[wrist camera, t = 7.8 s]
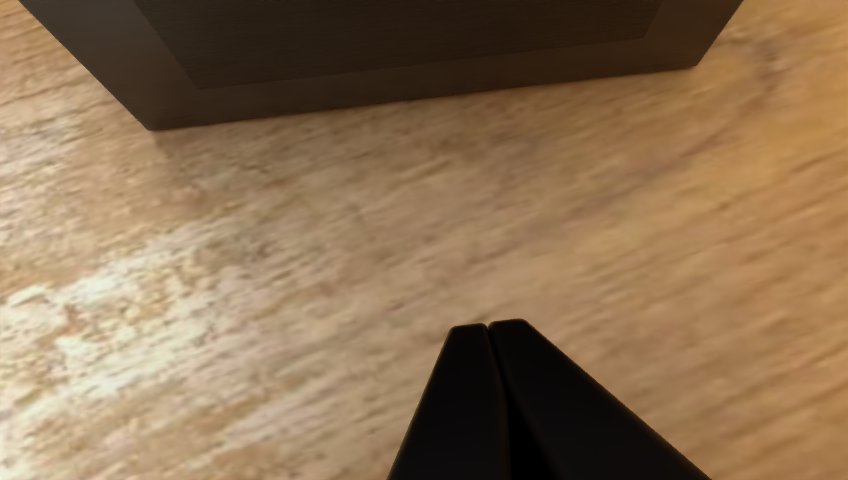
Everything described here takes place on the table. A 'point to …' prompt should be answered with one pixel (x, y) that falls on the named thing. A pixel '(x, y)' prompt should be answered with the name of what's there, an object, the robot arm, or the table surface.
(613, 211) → the table surface
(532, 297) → the table surface
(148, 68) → the oven door
